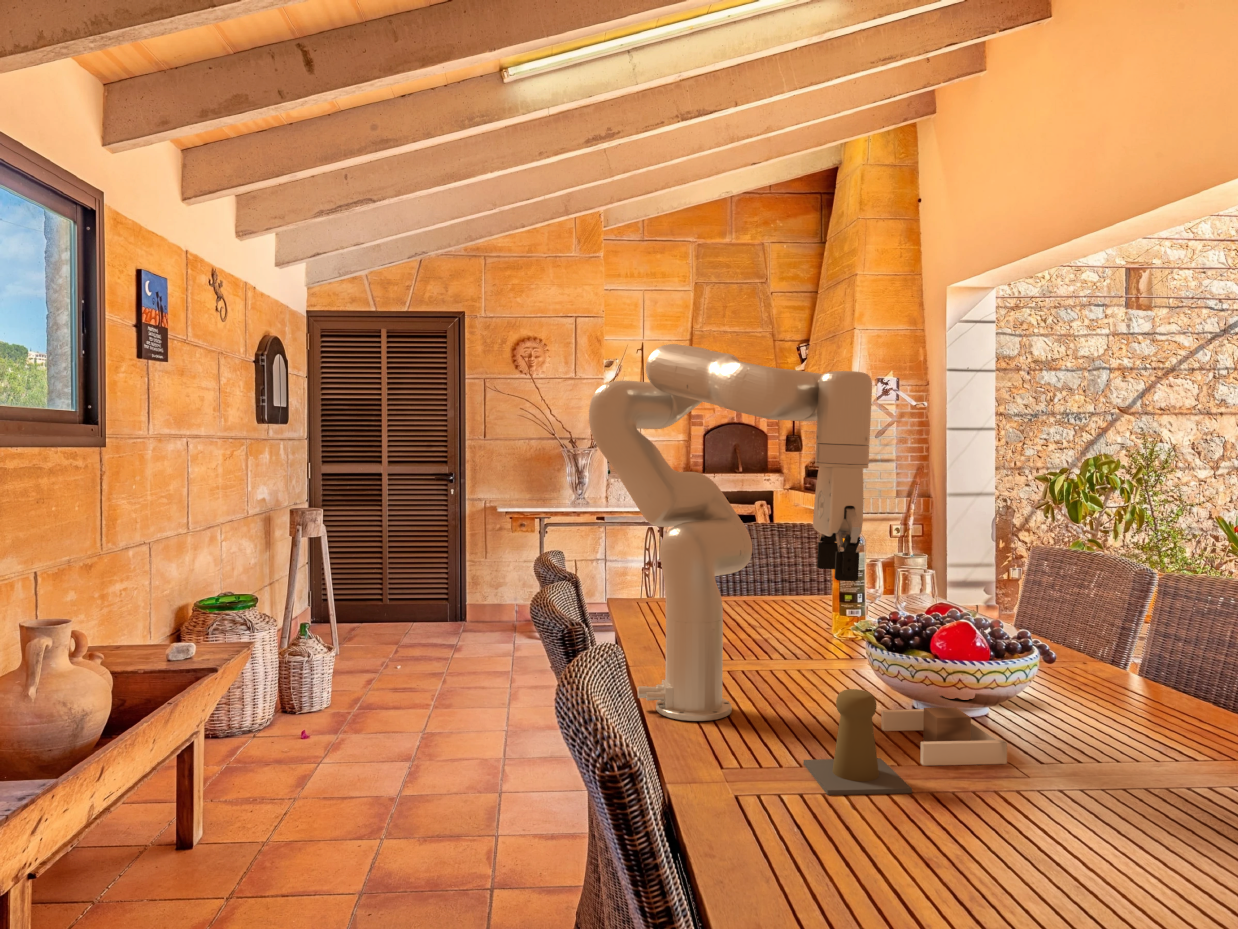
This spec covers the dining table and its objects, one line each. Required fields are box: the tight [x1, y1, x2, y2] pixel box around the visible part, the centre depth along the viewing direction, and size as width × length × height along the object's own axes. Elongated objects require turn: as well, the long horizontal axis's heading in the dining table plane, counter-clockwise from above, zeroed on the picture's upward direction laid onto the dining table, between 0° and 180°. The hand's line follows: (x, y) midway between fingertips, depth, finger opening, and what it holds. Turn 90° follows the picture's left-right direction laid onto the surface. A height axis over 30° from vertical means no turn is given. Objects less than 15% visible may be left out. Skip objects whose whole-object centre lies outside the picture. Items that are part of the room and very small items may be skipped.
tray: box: [880, 708, 1008, 766], centre depth 131 cm, size 12×16×3 cm
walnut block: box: [922, 706, 972, 742], centre depth 131 cm, size 5×5×5 cm
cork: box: [832, 688, 879, 781], centre depth 118 cm, size 6×6×11 cm
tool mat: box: [803, 757, 913, 796], centre depth 118 cm, size 11×11×1 cm
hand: (836, 574), depth 128 cm, fingers open, 9 cm apart
